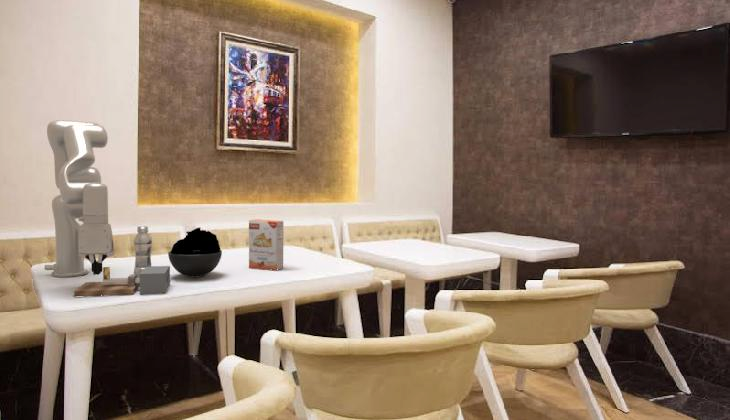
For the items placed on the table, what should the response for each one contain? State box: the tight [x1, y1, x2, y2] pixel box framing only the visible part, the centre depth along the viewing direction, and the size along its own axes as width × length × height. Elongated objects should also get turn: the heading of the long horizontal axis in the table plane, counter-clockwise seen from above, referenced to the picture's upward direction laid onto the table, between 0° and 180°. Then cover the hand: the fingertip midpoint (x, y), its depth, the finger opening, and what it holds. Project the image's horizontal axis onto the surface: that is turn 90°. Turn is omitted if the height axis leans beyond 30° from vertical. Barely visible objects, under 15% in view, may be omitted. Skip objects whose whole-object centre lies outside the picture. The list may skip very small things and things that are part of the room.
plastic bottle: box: [133, 226, 153, 277], centre depth 202 cm, size 6×7×20 cm
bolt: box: [102, 266, 140, 284], centre depth 182 cm, size 12×2×6 cm, turn 104°
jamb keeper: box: [139, 265, 171, 295], centre depth 185 cm, size 8×14×7 cm, turn 14°
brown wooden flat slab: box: [73, 273, 140, 297], centre depth 181 cm, size 18×14×5 cm
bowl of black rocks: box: [167, 227, 223, 278], centre depth 208 cm, size 20×20×19 cm
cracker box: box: [248, 218, 284, 271], centre depth 227 cm, size 14×6×21 cm, turn 68°
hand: (97, 273), depth 180 cm, fingers closed
